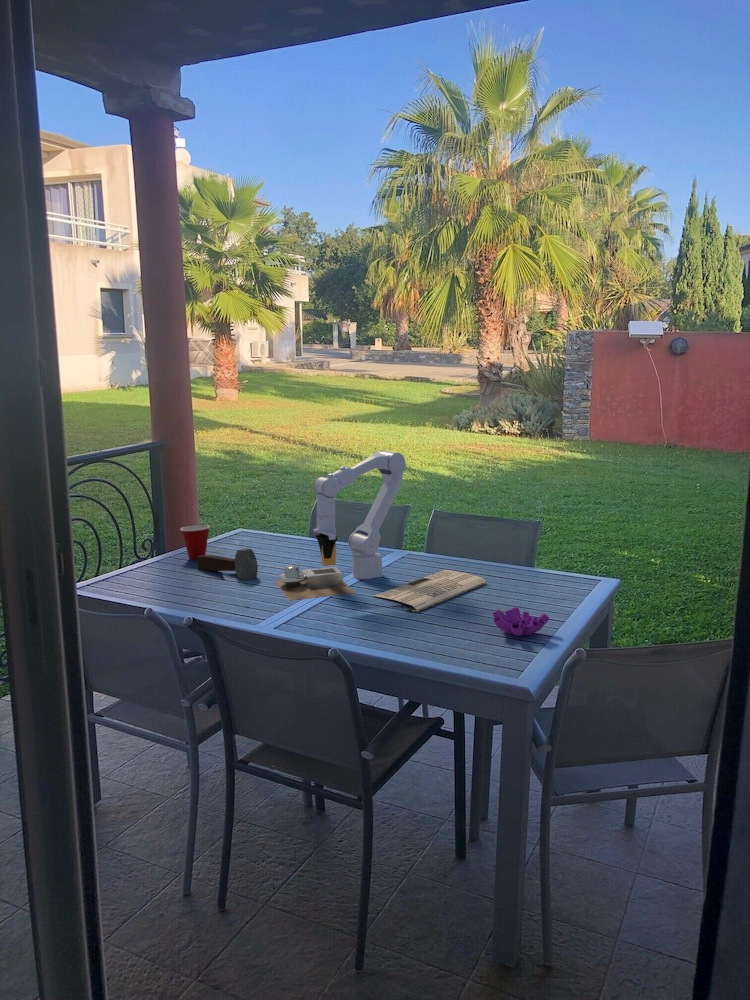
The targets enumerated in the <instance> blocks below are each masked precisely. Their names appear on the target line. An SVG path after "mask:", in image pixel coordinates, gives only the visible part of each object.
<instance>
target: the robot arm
mask: <svg viewBox="0 0 750 1000" xmlns="http://www.w3.org/2000/svg"><path fill="white" fill-rule="evenodd" d="M406 467H407V462H406V460H405V456H404V455H403V454H402V453H401V452H393V451H387V450H383V449H382V450H381V449H380V450H378V451H376V452H373V453H372V454H371V455H370V456H369V457H367V458H364V460H362V461H359V462H357V464H354V465H353V466H351V467H349V466H343V465H342V466H340V467H339V468H338V470H336V471H334V472H332V473H330V472H329V473H328V474H327V476H326V477H325V476H320V477H318V478H317V479H316V480H315V482H314V485H312V489H313V491H314V493H315V495H316V528H313V530H312V531H313V532H314V533H316V534H315V535H314V536H315V538H316V540H317V542H318V543H317V544H318V547H319V552H320V556H322V548H323V555H324V558H325V559H328V558H331V556H332V552H333V548H334V545H335V543H336V544H337V540H338V537H337V535H336V531H337V529H336V496H337V494H338V492H339V491H341V490H343V489H344V488H346V487H348V486H350V485H352V484H353V483H354V482H356V478H357V477H360V476H361V475H365V474H366V473H368V472H370V471H373V470H375V469H377V470H378V471H379V473H380V475H381V476H382V478H383V484H382V485H381V486H380V489H379V491H378V493H377V495H376V498H375V500H374V501H373V503H372V505H371V508H370V510H369V511H368V513H367V514H366V515H367V516H366V517H365V520H364V521H363V523H362V524H360V525H358V526H357V527H356V529H355V530H354V532H352V533H351V534H350V535H349V537H348V540H347V541H348V542H347V545H348V547H349V549H351V553H352V578H354V579H357V580H369V579H370V580H371V579H374V578H375V579H376V578H382V577H383V559H382V555H381V553H379V552H377V551H378V550H379V545H380V544H379V543H380V540H381V539H382V536H381V534H380V531H379V530H380V528H381V527H382V524H383V523H384V520H385V519H386V516H387V514H388V512H389V509H390V508H391V506H392V504H393V502H394V501H395V498H396V496H397V494H398V492H399V490H400V487H401V485H402V483H403V477H404V471H405V469H406Z"/></svg>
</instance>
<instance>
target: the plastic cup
mask: <svg viewBox="0 0 750 1000" xmlns="http://www.w3.org/2000/svg"><path fill="white" fill-rule="evenodd" d="M210 527H211V526H210V525H208V524H200V525H199V524H196V525H188V526H183V527H180V529H179V530H180V531H181V534H182V536H183V540H184V543H185V544H184V545H185V548H186V551H187V555H188V559H189V560H191V561H197V557H198V556H202V555H207V547H208V536H209V531H210Z"/></svg>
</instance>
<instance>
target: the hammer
mask: <svg viewBox="0 0 750 1000" xmlns="http://www.w3.org/2000/svg"><path fill="white" fill-rule="evenodd" d="M196 565H197V569H198V570H201V571H205V572H206V571H207V572H208V571H209V572H214V571H215V572H235V573H236V576H237V578H238V579H240V580H242V581H249V580H252V579H257V577H258V571H259V570H258V569H259V567H258V566H259V565H258V561H257V557H256V555H255V552H254V550H252V548H248V547H247V548H242V549H238V550H236V552H235V555H234V558H230V557H225V556H220V555H214V554H213V555H212V554H211V555H209V554H206V555H202V556H198V557H197V560H196Z"/></svg>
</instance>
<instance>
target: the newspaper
mask: <svg viewBox="0 0 750 1000" xmlns="http://www.w3.org/2000/svg"><path fill="white" fill-rule="evenodd" d="M486 584H487V580H486V579H485V578H483V577H482V576H478V575H474V574H471V573H467V572H462V571H455V570H450V569H444V570H441V571H438V572H434V573H432V574H430V575H426V576H424V577H421V578H419V579H417V580H416V579H415V580H413V581H410V582H407V583H404V584H402V585H399V586H397V587H394V588H392V589H388V590H386V591H383V592H380V593H377V594H374V595H372V596H371V597H376V598H381V599H386V600H392V601H397V602H400V603H403V604H406V605H409V606H412V607H413V609H411V611H412V612H415V613H417V612H420V611H422V610H425V609H427V608H431V607H432V606H435V605H438V604H439V603H442V602H445V601H447V600H450V599H451V598H454V597H456V596H459V595H462V594H464V593H466V592H468V591H471V590H474V589H476V588H479V587H481V586H483V585H486Z"/></svg>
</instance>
